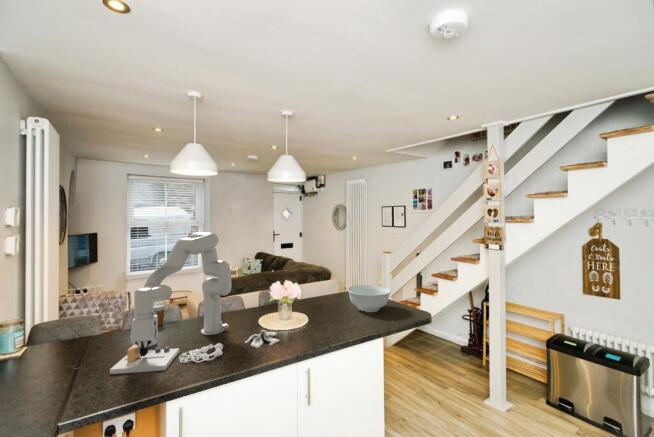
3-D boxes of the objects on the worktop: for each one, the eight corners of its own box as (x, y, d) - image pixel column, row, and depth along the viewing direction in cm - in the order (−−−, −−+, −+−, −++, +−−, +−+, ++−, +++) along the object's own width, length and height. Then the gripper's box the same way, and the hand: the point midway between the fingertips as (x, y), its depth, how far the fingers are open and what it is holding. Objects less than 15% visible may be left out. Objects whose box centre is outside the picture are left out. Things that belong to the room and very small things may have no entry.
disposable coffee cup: (166, 325, 187) (166, 306, 187) (148, 328, 181) (148, 309, 181) (164, 321, 195) (164, 303, 195) (147, 324, 189) (147, 305, 189)
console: (179, 352, 149) (179, 345, 149) (165, 370, 131) (165, 362, 131) (130, 355, 145) (130, 348, 145) (109, 374, 127) (109, 365, 127)
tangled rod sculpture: (176, 370, 133) (175, 361, 133) (181, 354, 147) (181, 346, 147) (222, 362, 139) (222, 354, 139) (223, 347, 153) (223, 340, 153)
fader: (140, 354, 140) (140, 343, 140) (134, 360, 134) (134, 349, 134) (133, 355, 140) (133, 344, 140) (127, 361, 134) (127, 349, 134)
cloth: (274, 332, 177) (274, 321, 177) (285, 343, 161) (285, 331, 161) (235, 339, 166) (235, 328, 166) (244, 352, 150) (244, 339, 150)
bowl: (399, 308, 221) (399, 288, 221) (374, 319, 197) (374, 297, 198) (364, 300, 243) (364, 282, 243) (337, 309, 220) (337, 289, 220)
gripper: (164, 312, 143) (164, 350, 143) (130, 313, 141) (130, 352, 140) (158, 317, 135) (157, 357, 135) (121, 318, 133) (121, 360, 133)
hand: (143, 355), depth 138 cm, fingers closed
